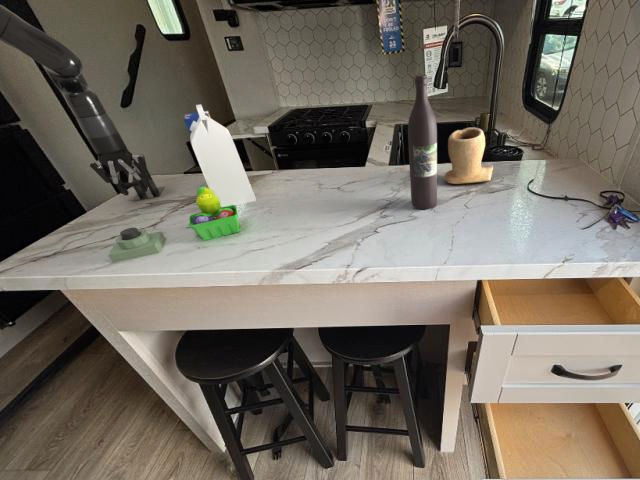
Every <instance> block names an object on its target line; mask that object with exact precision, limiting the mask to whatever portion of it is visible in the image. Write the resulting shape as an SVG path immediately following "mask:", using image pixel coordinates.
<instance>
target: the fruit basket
mask: <svg viewBox="0 0 640 480" xmlns="http://www.w3.org/2000/svg"><path fill="white" fill-rule="evenodd" d="M195 204H196V206H197V208H198V209H199V210H200V212H197V213H193V214H191V215H190V216H189V218H188V226H189V227H190V228H191V229H192V230H193V231H194V232H195V233H196V234H197V236H198V237H199V238H200V239H201V240H202V241H203V242H205V241H209V240H212V239H217V238H221V237H225V236H228V235H232V234H236V233H240V231H241V230H240V224H239V223H240V222H239V214H238V209H237V206H236V205H230V206H225V207H221V206H220V200H219V199H218V197H217V196H216V195H215V194H214V192H213V191H212V190H211V189H209V187H207V186H206V185H205V186H200V187H198V188H197V189H196V200H195Z"/></svg>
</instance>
